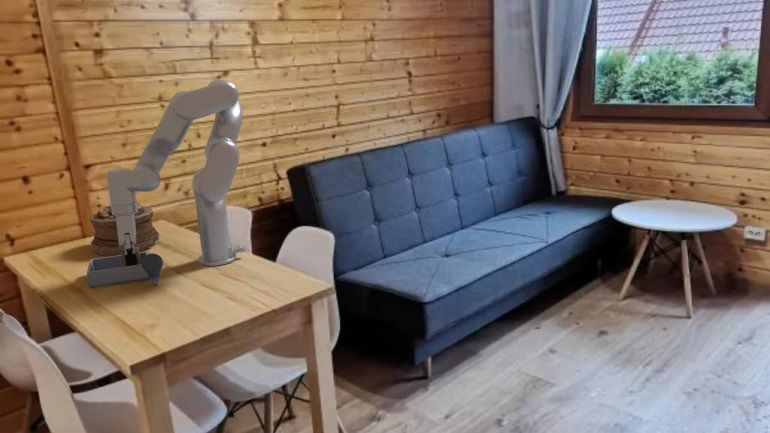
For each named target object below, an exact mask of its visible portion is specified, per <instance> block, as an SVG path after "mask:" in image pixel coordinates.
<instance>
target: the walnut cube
mask: <svg viewBox="0 0 770 433" xmlns="http://www.w3.org/2000/svg"><path fill="white" fill-rule="evenodd" d="M134 250H135V253H136V258H137V265H139V264H141V261H140V253H139V247H134ZM121 255H122V262H123V267H125V266H126V260H125V249H122V252H121Z"/></svg>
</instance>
